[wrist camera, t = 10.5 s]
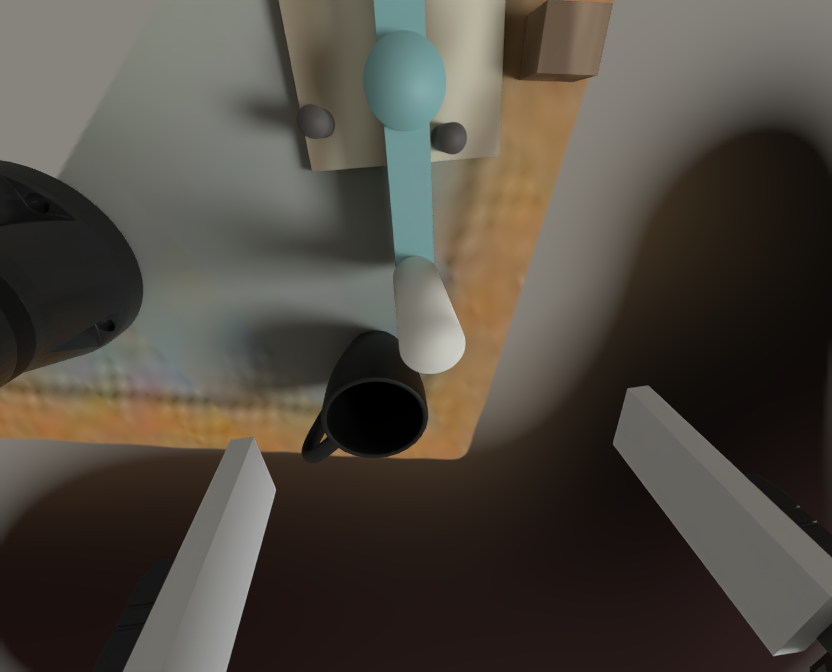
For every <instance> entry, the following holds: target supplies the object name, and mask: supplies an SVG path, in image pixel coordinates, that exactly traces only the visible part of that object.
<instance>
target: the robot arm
mask: <svg viewBox="0 0 832 672" xmlns="http://www.w3.org/2000/svg"><path fill="white" fill-rule="evenodd" d="M142 297H143V284H142V277H141V272H140V269H139V266H138V263H137V260H136V258H135V256H134V254H133V252H132V250H131V248H130V246H129V244H128V243H127V241H126V240H125V238H124V237H123V235H122V234H121V232H120V231H119V230H118V228H117V227H116V226H115V225H114V224H113V222H112V221H111V220H110V219H109V218H108V217H107V216H106V215H105V214H104V213H103V212H102V211H101V210H100V209H99V208H98V207H97V206H95V205H94V204H93V203H92V202H91V201H89V200H88V199H87V198H86V197H84V196H83V195H82V194H80V193H79V192H77V191H76V190H74V189H73V188H71V187H70V186H68V185H66V184H65V183H63V182H61V181H59V180H57V179H56V178H53V177H51V176H49V175H47V174H45V173H43V172H40V171H38V170H35V169H32V168H30V167H27V166H23V165H20V164H16V163H12V162H7V161H1V160H0V388H1V387H2V386H3V385H5V384H6V383H8V382H9V381H11V380H12V379H14V378H15V377H17V376H19V375H20V374H22V373H24V372H27V371H30V370H34V369H37V368H40V367H44V366H47V365H51V364H54V363H57V362H61V361H64V360H67V359H71V358H74V357H78V356H81V355H84V354H87V353H90V352H93V351H95V350H97V349H99V348H101V347H103V346H105V345H106V344H108V343H109V342H110V341H112V340H113V339H114V338H116V337H117V336H118V335H120V334H121V333H122V332H124V331H125V330H126V329H127V328H128V327H129V326H130V325H131V324H132V323H133V321H134V320H135V318H136V316H137V315H138V312H139V310H140V307H141V303H142ZM613 445H614V446H615V447H616V448H617V450H618V451H619V453H620V454H621V455H622V456H623V458H624V459H625V461H626V462H627V463H628V465H629V466H630V467H631V468H632V470H633V471H634V472H635V474H636V475H637V476H638V478H639V479H640V480H641V482H642V483H643V484H644V486H645V487H646V488H647V490H648V491H649V492H650V493H651V495H652V496H653V498H654V499H655V500H656V501H657V503H658V504H659V505H660V507H661V508H662V509H663V511H664V512H665V513H666V515H667V516H668V517H669V519H670V520H671V521H672V523H673V524H674V525H675V527H676V528H677V529H678V530H679V532H680V533H681V534H682V536H683V537H684V539H685V540H686V541H687V543H688V544H689V545H690V546H691V548H692V549H693V550H694V552H695V553H696V554H697V556H698V557H699V558H700V560H701V561H702V562H703V564H704V565H705V566H706V568H707V569H708V570H709V572H710V573H711V574H712V576H713V577H714V578H715V580H716V581H717V582H718V583H719V585H720V586H721V587H722V589H723V590H724V591H725V593H726V594H727V595H728V597H729V598H730V599H731V601H732V602H733V603H734V605H735V606H736V607H737V608H738V610H739V611H740V613H741V614H742V615H743V617H744V618H745V619H746V621H747V622H748V623H749V624H750V626H751V627H752V628H753V630H754V631H755V632H756V633H757V635H758V636H759V638H760V639H761V640H762V641H763V643H764V644H765V646H766V647H767V648H768V649H769V651H770V652H771V654H772V655H773V656H775V655H782V654H788V653H794V652H800V651H804V650H805V649H807V647H809V646H810V645H811V644H812V643H813V642H814V641H815V640H816V639H817V640H818V641H819V642H820V643H821V644H822V646H823V647H824V648H825V649H826V650H827V651H828V652H827V653H826V654H824V656H822V657H821V658H820V659H819V660H818V661H816V662H815V663H814V664H813V665H812V666H811V667H810V672H832V534H831V533H829V531H827V530H826V529H825V528H824V527H823V526H822V525H818V524H817V521H816V520H815V519H814V518H813V517H812V516H811V515H809V514H808V513H807V512H806V511H805V510H802V509H800V506H799V505H798V504H797V503H796V502H795V501H794V500H792V499H791V498H790V497H789V496H788V495H787V494H786V493H784V492H783V491H782V490H781V489H780V488H779V487H777V486H775V485H774V484H772V483H770V482H769V481H767V480H765V479H764V478H761V477H760V476H758V475H757V474H750V475H743V474H742V473H741V472H740V471H739V470H738V469H737V468H736V467H735V466H733V465H732V464H731V463H730V462H729V461H728V460H727V459H726V458H725V457H724V456H723V455H722V454H721V453H720V452H718V450H716V449H715V448H714V447H713V446H712V445H711V444H710V443H709V442H708V441H707V440H706V439H705V438H704V437H703V436H702V435H700V434H699V433H698V432H697V431H696V430H695V429H694V428H693V427H692V426H691V425H690V424H689V423H688V422H687V421H685V420H684V419H683V418H682V417H681V416H680V415H679V414H678V413H677V412H676V411H675V410H674V409H672V407H670V406H669V405H668V404H667V403H666V402H665V401H664V400H663V399H662V398H661V397H660V396H659V395H658V394H657V393H656V392H654V391H653V390H652V389H651V388H650V387H649V386H643V387H636V388H628V389H627V393H626V397H625V401H624V404H623V408H622V412H621V415H620V419H619V423H618V427H617V431H616V435H615V438H614V442H613ZM275 492H276V488H275V486H274V484H273V481H272V479H271V477H270V474H269V472H268V469H267V467H266V465H265V462H264V460H263V458H262V455H261V453H260V450H259V448H258V446H257V443H256V441H255V439H254V437H249V438H241V439H234V440H231V441H230V443H229V445H228V447H227V449H226V451H225V454H224V456H223V458H222V460H221V462H220V465H219V466H218V469H217V471H216V473H215V475H214V477H213V479H212V482H211V484H210V486H209V488H208V490H207V492H206V495H205V497H204V499H203V501H202V503H201V505H200V508H199V510H198V512H197V514H196V516H195V518H194V520H193V522H192V524H191V527H190V529H189V531H188V533H187V535H186V538H185V540H184V542H183V544H182V546H181V548H180V550H179V552H178V554H177V557H173V558H166V559H159V560H157V561H156V562H155V563H154V564H153V565H152V566H151V568H150V569H149V570H148V571H147V572H146V573H145V575H144V576H143V577H142V578H141V579H140V580H139V582H138V584H137V585H136V587H135V589H134V591H133V593H132V595H131V597H130V599H129V601H128V602H127V604H126V609H125V611H123V612H122V614H121V616H120V618H119V620H118V622H117V623H116V626H115V630H114V632H112V633H111V635H110V637H109V639H108V641H107V642H106V644H105V646H104V648H103V650H102V652H101V654H100V656H99V658H98V660H97V662H96V664H95V666H94V667H93V669H92V671H91V672H226V670H227V666H228V662H229V659H230V655H231V651H232V648H233V644H234V640H235V637H236V633H237V629H238V625H239V622H240V619H241V615H242V611H243V608H244V604H245V600H246V597H247V593H248V590H249V586H250V583H251V579H252V575H253V572H254V568H255V564H256V561H257V557H258V553H259V549H260V546H261V543H262V539H263V535H264V532H265V528H266V524H267V521H268V517H269V513H270V510H271V506H272V503H273V499H274V495H275Z"/></svg>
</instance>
